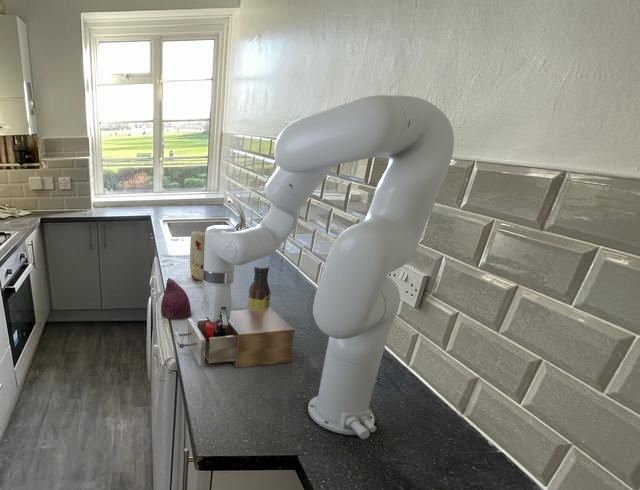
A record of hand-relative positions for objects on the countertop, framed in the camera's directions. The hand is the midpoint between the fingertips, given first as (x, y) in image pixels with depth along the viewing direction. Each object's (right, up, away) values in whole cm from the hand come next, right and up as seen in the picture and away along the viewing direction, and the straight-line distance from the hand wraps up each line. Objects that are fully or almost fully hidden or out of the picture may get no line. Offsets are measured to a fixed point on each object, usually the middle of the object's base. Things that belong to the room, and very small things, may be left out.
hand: (215, 338), depth 109 cm
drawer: (-1, -4, +2) cm, 5 cm away
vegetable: (-7, +7, +29) cm, 31 cm away
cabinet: (+11, -4, +3) cm, 12 cm away
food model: (+6, +22, +61) cm, 66 cm away
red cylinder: (0, 0, 0) cm, 0 cm away
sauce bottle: (+16, +2, +17) cm, 23 cm away
